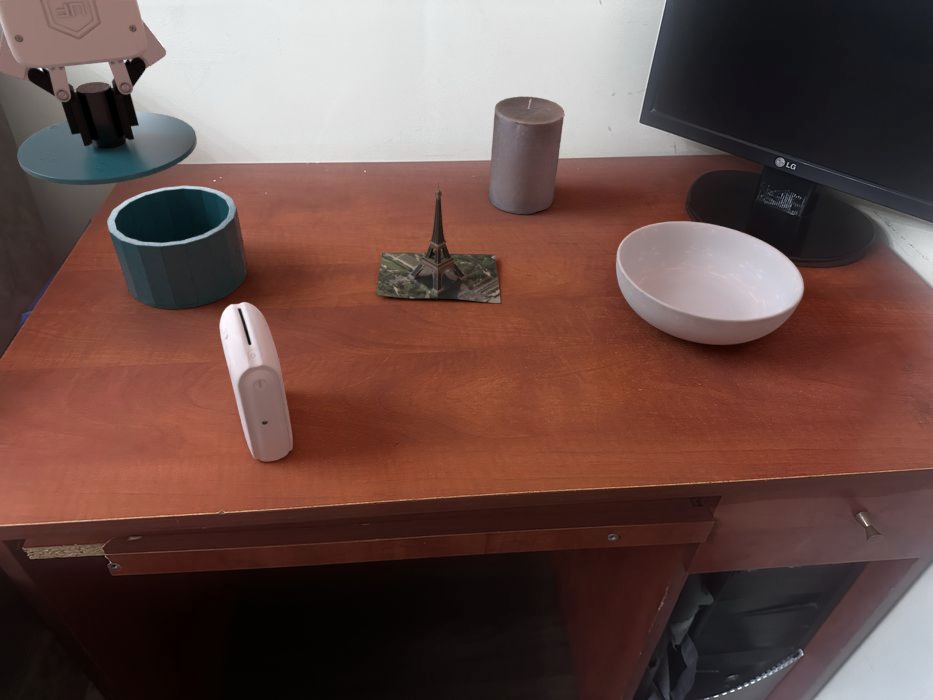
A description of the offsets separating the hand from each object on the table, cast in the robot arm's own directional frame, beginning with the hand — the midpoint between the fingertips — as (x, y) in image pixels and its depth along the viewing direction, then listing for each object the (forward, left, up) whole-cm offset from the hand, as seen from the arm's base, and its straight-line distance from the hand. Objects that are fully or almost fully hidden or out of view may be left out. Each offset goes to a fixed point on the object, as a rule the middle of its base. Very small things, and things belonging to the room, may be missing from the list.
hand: (107, 135), depth 64 cm
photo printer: (+6, -18, -23) cm, 30 cm away
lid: (0, 0, -1) cm, 1 cm away
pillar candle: (+52, +12, -23) cm, 58 cm away
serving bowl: (+57, -21, -23) cm, 65 cm away
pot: (+4, +11, -23) cm, 26 cm away
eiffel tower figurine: (+32, -2, -23) cm, 40 cm away
